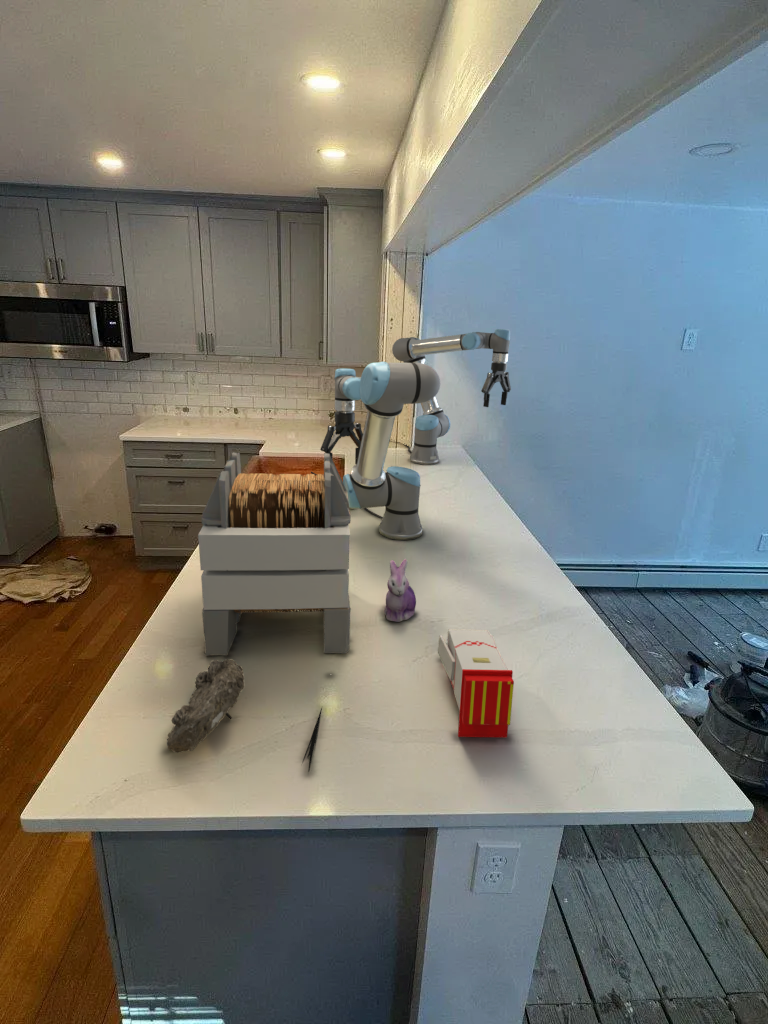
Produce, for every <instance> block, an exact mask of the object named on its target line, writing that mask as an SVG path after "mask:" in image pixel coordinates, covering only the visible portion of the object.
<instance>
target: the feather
mask: <svg viewBox="0 0 768 1024" xmlns="http://www.w3.org/2000/svg"><path fill="white" fill-rule="evenodd" d="M329 675H330V676H331V675H332V674H331V673H330V674H329ZM322 710H323V707H321V708H320V710H319V713H318V716H317V719H316V723H315V725H314V728H313V731H312V733H311V737H310V739H309V742H308V745H307V748H306V751H305V754H304V757H303V760H302V763H301V767H302V765H303V763H304V761H305V758H308V759H309V760H308V762H307V763H308V764H307V766H308V771H310V770H311V766H312V765H311V764H312V760H313V757H315V756H314V755H315V751H316V749H315V746H317V739H318V733H319V729H320V722H321V717H322V712H323V711H322ZM313 754H314V755H313ZM306 755H307V757H306Z"/></svg>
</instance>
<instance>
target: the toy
mask: <svg viewBox="0 0 768 1024" xmlns="http://www.w3.org/2000/svg"><path fill="white" fill-rule="evenodd" d="M446 640H447V643H446V641H445V639H444V636H443V635H442V634H439V637H438V646H437V656H438V657H439V659H440V661H441V663H442V666H443V668H444V670H445V672H446V674H447V677H448V679H449V681H450V684H451V687H452V690H453V693H454V697H455V701H456V705H457V708H458V711H459V714H458V715H459V716H458V730H457V731H458V732H457V737H458V738H508V731H509V726H510V725H511V717H512V707H513V697H514V696H513V695H514V684H515V680H514V679H513V673H514V671H513V670H512V669H508V667H507V665H506V662H505V661H504V659H503V658H502V655H501V653H500V651H499V649H498V647H497V643H496V639H495V637H494V635H493V634H491V632H490V631H489V629H467V628H466V629H465V628H463V629H461V628H460V629H459V628H448V630H447V639H446Z"/></svg>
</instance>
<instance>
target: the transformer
mask: <svg viewBox="0 0 768 1024" xmlns="http://www.w3.org/2000/svg"><path fill="white" fill-rule="evenodd" d="M241 463H242V462H241V453H240V452H235V451H233V452H231V455H230V457H229V459H227V460H226V463H225V466H224V468H223V470H222V471H220V474H219V475H218V477H217V479H216V482H215V483H214V486H213V489H212V491H211V494H210V495H209V498H208V499H207V502H206V505H205V507H204V509H203V511H202V514H201V517H200V520H201V524H202V527H201V529H200V530H199V532H198V535H197V538H198V550H199V552H198V553H199V563H200V565H199V567H200V571H202V573H201V575H200V580H201V581H200V582H201V594H202V605H203V607H202V609H201V610H202V611H201V617H202V629H203V638H204V639H203V640H204V649H205V650H204V651H205V652H204V655H205V656H206V657H212V656H228V654H229V652H230V650H231V647H232V645H233V643H234V640H235V638H236V635H237V632H238V623H240V620H241V617H242V614H244V613H250V614H251V613H253V614H254V613H257V614H258V613H298V612H301V613H302V612H308V613H309V612H322V614H323V654H344V655H346V654H347V653H349V652H350V639H351V604H350V595H349V594H350V593H349V586H350V585H349V584H350V572H349V571H350V570H349V569H350V549H351V548H350V547H351V545H350V542H351V533H350V532H351V531H350V526H349V525H350V524H351V520H352V516H351V515H352V514H351V510H350V508H349V502H348V495H347V490H346V488H345V486H344V484H343V479H342V478H341V474H340V473H339V471H338V469H337V466H336V465H335V462H334V460H332V458H331V456H330V454H328V453H325V452H324V453H323V473H322V474H321V473H318V474H317V473H315V474H316V476H315V474H312V473H306V474H303V475H302V474H301V473H280V474H273V473H244V472H243V473H242V466H241Z"/></svg>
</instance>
